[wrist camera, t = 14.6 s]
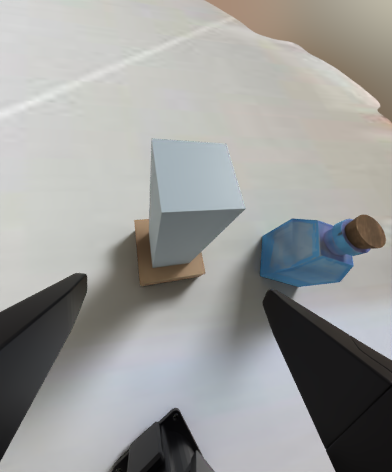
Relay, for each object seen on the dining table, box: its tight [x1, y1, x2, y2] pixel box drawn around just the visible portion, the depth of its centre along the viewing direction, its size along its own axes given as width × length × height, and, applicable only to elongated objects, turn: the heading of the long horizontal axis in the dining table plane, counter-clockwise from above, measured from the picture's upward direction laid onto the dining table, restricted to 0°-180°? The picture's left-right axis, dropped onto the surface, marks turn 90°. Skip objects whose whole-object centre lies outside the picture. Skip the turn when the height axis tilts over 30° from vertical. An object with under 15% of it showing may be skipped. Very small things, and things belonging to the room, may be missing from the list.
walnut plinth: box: [134, 219, 205, 286], centre depth 21 cm, size 7×7×3 cm
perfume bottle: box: [260, 215, 386, 287], centre depth 21 cm, size 6×6×12 cm
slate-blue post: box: [149, 138, 246, 268], centre depth 14 cm, size 4×4×12 cm
